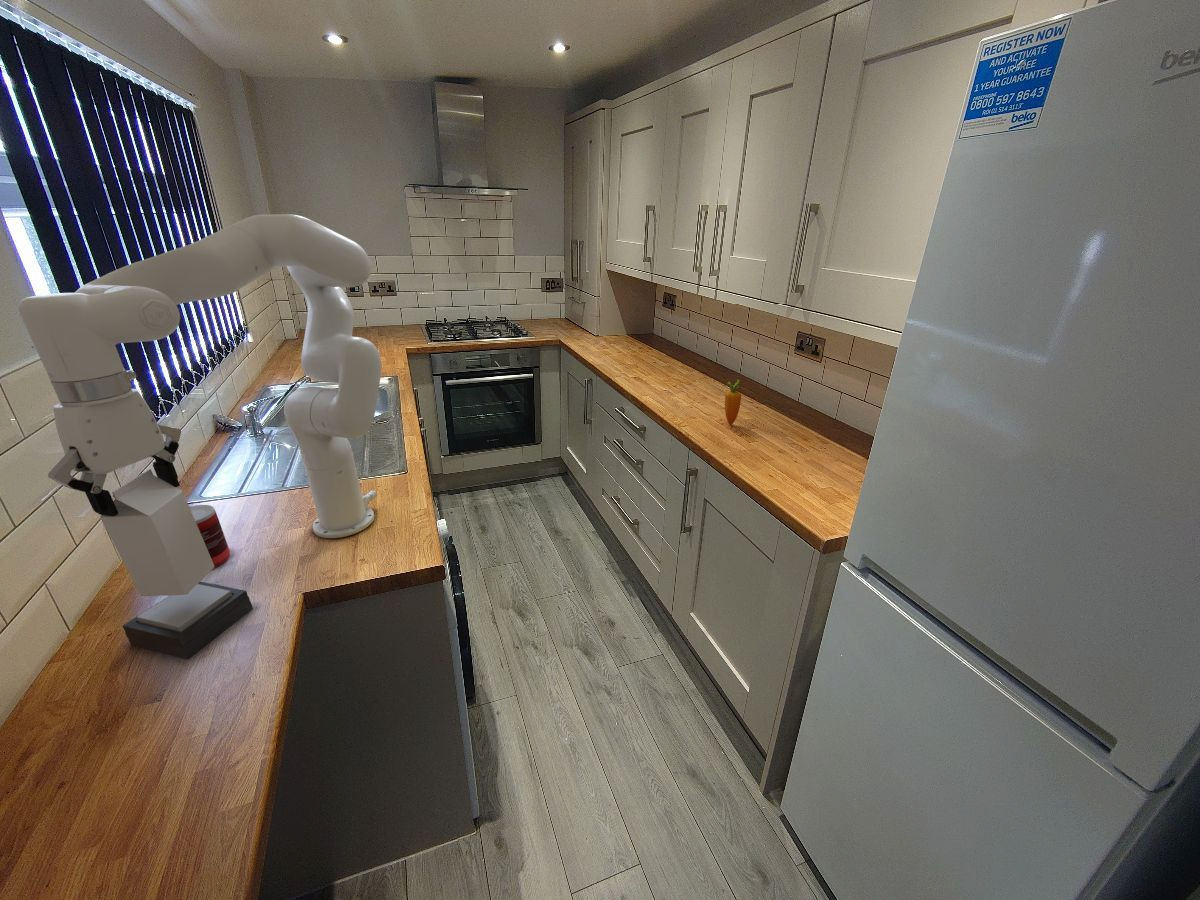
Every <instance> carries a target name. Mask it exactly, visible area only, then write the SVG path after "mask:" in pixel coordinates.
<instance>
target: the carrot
mask: <svg viewBox="0 0 1200 900" xmlns="http://www.w3.org/2000/svg"><path fill="white" fill-rule="evenodd" d="M739 384H740V379H737V380H736V382H735V384H734V385H732V383H731V382H730V381H728V382H727V385H728V388H729V390H728V391H727V392H726V393H725V395H724V413H725V418H726V420H727V423H728V425H729V426H732V425H734V422H735V421H736V419H737V417H738V415H739V413H740V408H741V402H742V393H741V392H739V391H738V390H737V389H738V387H739Z"/></svg>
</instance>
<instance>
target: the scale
mask: <svg viewBox="0 0 1200 900" xmlns="http://www.w3.org/2000/svg"><path fill="white" fill-rule="evenodd" d="M198 584H200V585H205V586H210V587H214V588H219V589H224V590H229V591H231V593H232V596H231V597H230V598H228V599H227V600H226V601H224V602H223V603H221V604H220V605H219V606H217V607H216V608H215V609H213V610H212V611H210V612H209V613H208V614H206V615H205V616H203V617H202V618H201V619H199V620H198V621H197V622H195V623H194V624H192V625H191V626H190V627H188V628H187V629H185V630H184V631H183V632H181V633H180V632H175V631H171V630H167V629H163V628H159V627H154V626H150V625H146V624H142V623H139V621H138V619H137V617H138V616H139V615H141V614H142V613H144V612H145V611H147V610H148V609H150V608H151V607H153V606H155V605H156V604H158V603H159V602H161V601H162V600H164V599H165V598H167V597H169V596H166V597H165V598H163V599H162V600H160V601H158V602H157V603H155V604H154V605H152V606H151V607H149V608H148V609H146V610H144V611H143V612H141V613H140V614H138V615H136V616H135V617H134V618H132V619H130V620H129V621H127V622H126V623H124V624H122V628H123V631H125V632H124V634H125V636H126V639H127V640H128V641H129V644H130V645H131V646H132V647H138V648H140V649H141V648H142V649H145V650H149V651H153V652H157V653H161V654H165V655H170V656H172V657H178V658H181V659H185V660H190V658H192V657H193V656H194V655H196V654H197V653H198V652H199V651H201V650H202V649H203V648H205V647H206V646H207V645H208V644H210V643H211V642H212V641H213V640H215V639H216V638H218V636H220V635H221V634H222V633H224V632H225V631H227V630H228V629H229V628H231V626H233V625H234V624H235V623H237V622H238V621H239V620H240V619H242V618H243V617H245V616H246V615H248V614H249V613H250V612H251V611H252V610H253V608H254V607H253V605H252V603H251V599H250V597H249V595H248V592H247V590H245V589H240V588H239V589H238V588H235V587H230V586H226V585H220V584H215V583H210V582H204V581H202V580H201V581H200V582H199V583H198Z"/></svg>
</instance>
